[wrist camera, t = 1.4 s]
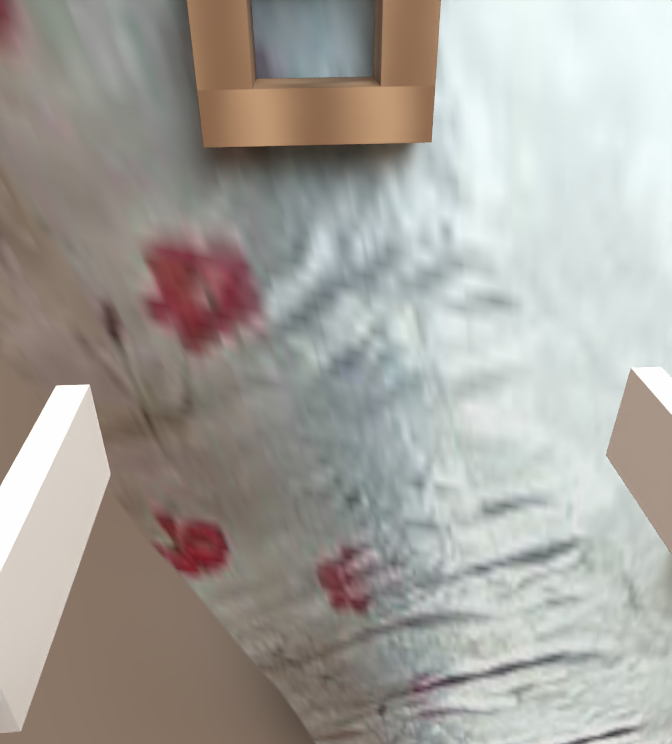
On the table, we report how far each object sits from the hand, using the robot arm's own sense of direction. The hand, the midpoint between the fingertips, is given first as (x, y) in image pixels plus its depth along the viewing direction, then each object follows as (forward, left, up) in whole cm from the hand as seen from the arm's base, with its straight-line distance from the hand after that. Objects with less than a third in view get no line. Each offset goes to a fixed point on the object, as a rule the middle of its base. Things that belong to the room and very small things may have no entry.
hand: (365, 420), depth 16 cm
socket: (+5, -6, -29) cm, 30 cm away
